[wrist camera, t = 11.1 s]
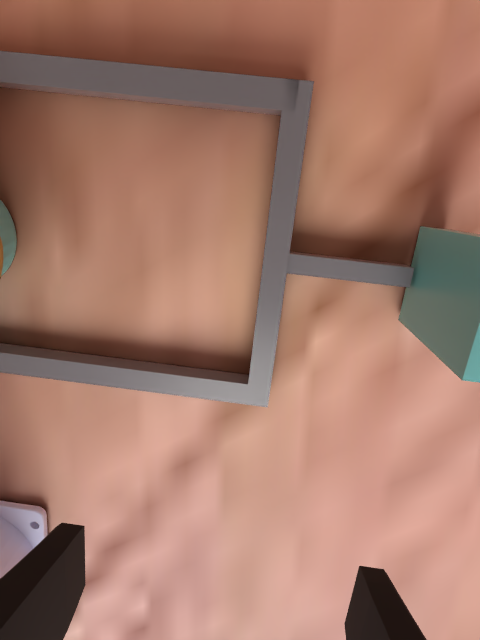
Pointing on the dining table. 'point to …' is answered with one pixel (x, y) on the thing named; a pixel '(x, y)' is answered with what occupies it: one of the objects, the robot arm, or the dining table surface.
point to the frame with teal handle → (293, 106)
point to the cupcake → (6, 239)
